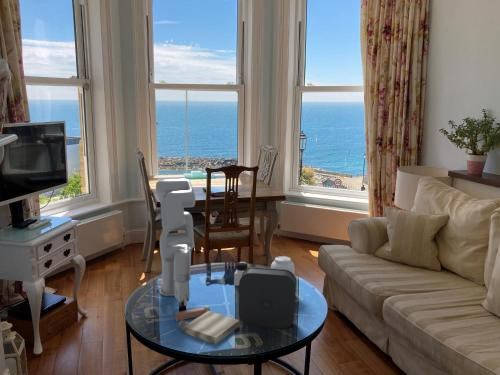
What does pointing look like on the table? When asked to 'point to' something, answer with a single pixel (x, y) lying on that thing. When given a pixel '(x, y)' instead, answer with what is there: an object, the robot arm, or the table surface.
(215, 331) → the stool seat
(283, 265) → the white ribbed vase
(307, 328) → the table surface
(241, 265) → the box camera
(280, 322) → the speaker
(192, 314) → the folding leg
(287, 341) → the table surface
